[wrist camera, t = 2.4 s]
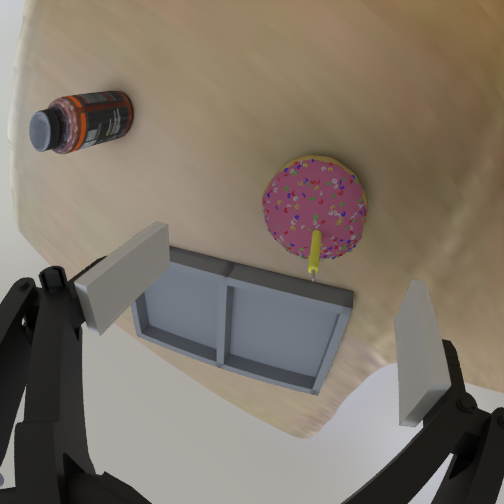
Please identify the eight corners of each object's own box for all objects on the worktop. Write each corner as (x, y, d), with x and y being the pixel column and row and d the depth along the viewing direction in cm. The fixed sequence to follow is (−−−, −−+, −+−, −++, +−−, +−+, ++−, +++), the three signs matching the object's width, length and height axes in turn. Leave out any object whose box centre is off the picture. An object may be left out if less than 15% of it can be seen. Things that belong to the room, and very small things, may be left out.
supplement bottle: (98, 93, 30) (22, 104, 20) (135, 88, 28) (54, 95, 19) (99, 139, 32) (26, 161, 23) (135, 138, 31) (57, 161, 21)
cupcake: (379, 218, 27) (391, 288, 17) (301, 248, 31) (270, 324, 21) (340, 133, 24) (331, 151, 14) (260, 173, 29) (203, 215, 18)
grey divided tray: (353, 291, 31) (352, 308, 28) (321, 378, 38) (317, 395, 36) (136, 237, 37) (121, 247, 35) (147, 324, 44) (137, 335, 42)
